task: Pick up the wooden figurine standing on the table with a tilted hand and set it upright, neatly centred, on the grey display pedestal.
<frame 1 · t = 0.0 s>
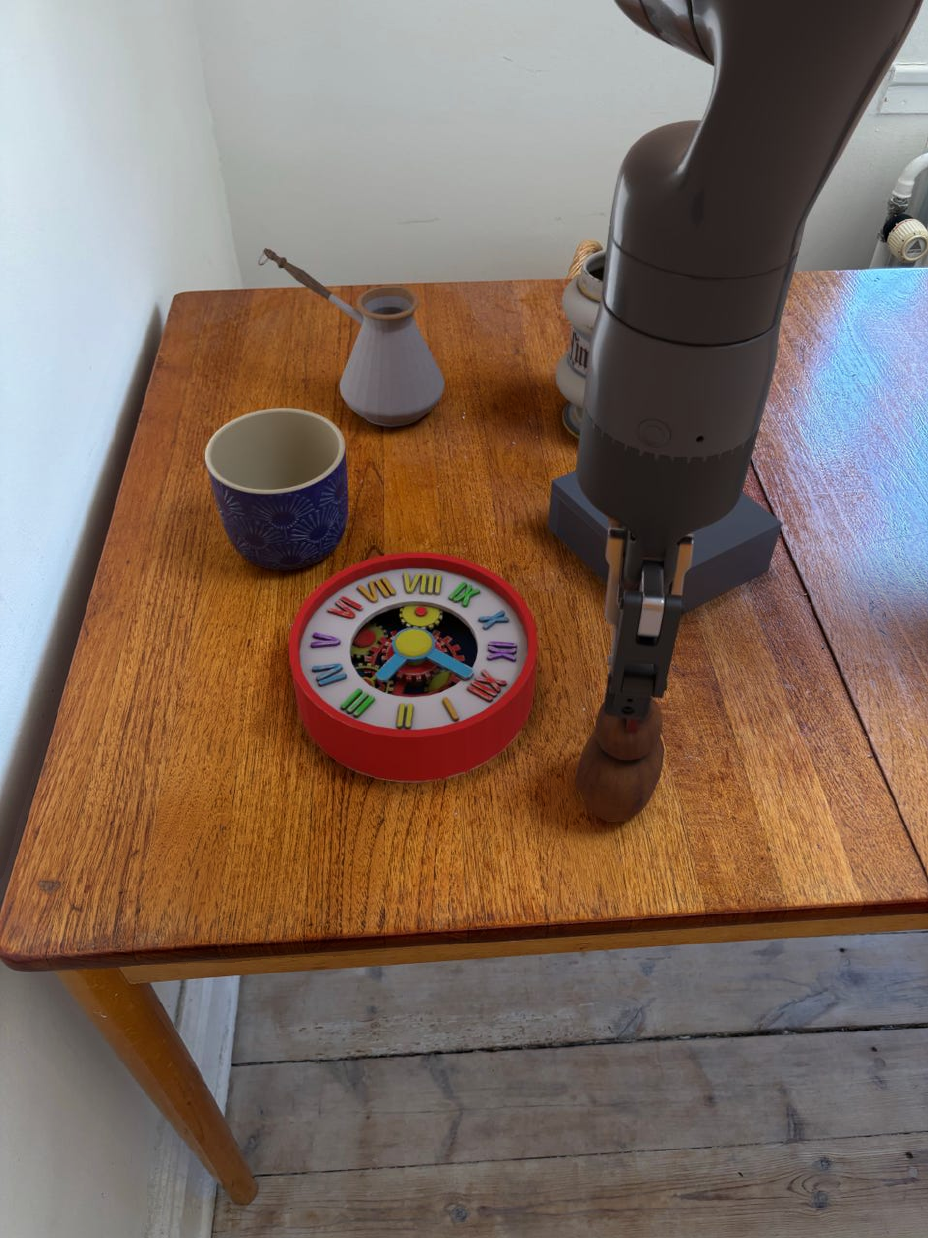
hand: (626, 650, 54), 25 cm above the table, tool pointing down, fingers open, 8 cm apart
wooden figurine: (613, 799, 78), on the table
grey display pedestal: (655, 549, 97), on the table
planter: (290, 540, 98), on the table
toy clock: (415, 684, 85), on the table
apothecary jar: (606, 421, 111), on the table
coffee pot: (356, 395, 114), on the table
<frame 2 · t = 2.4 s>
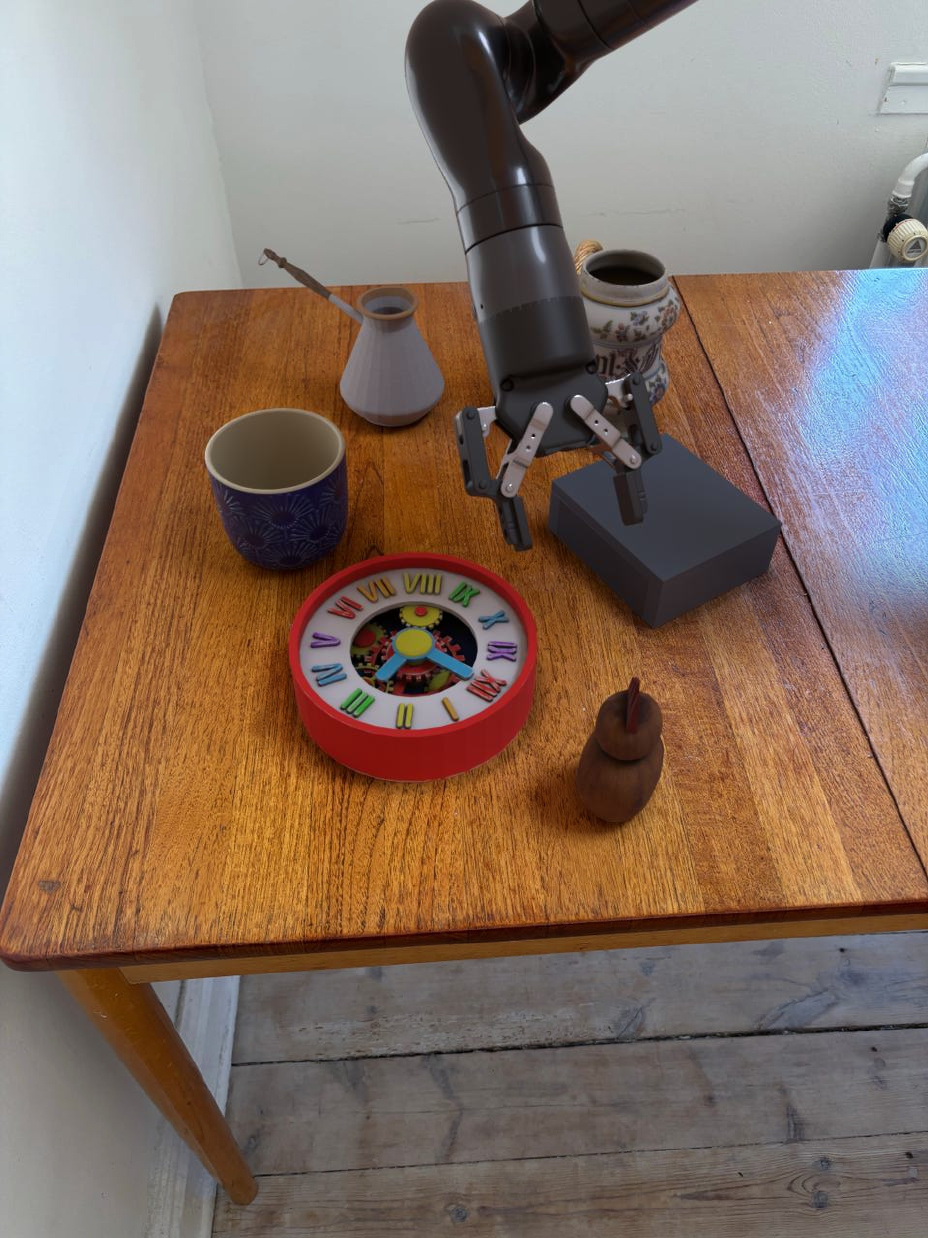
hand: (580, 537, 71), 18 cm above the table, tool tilted 45°, fingers open, 8 cm apart
nothing on the table moved.
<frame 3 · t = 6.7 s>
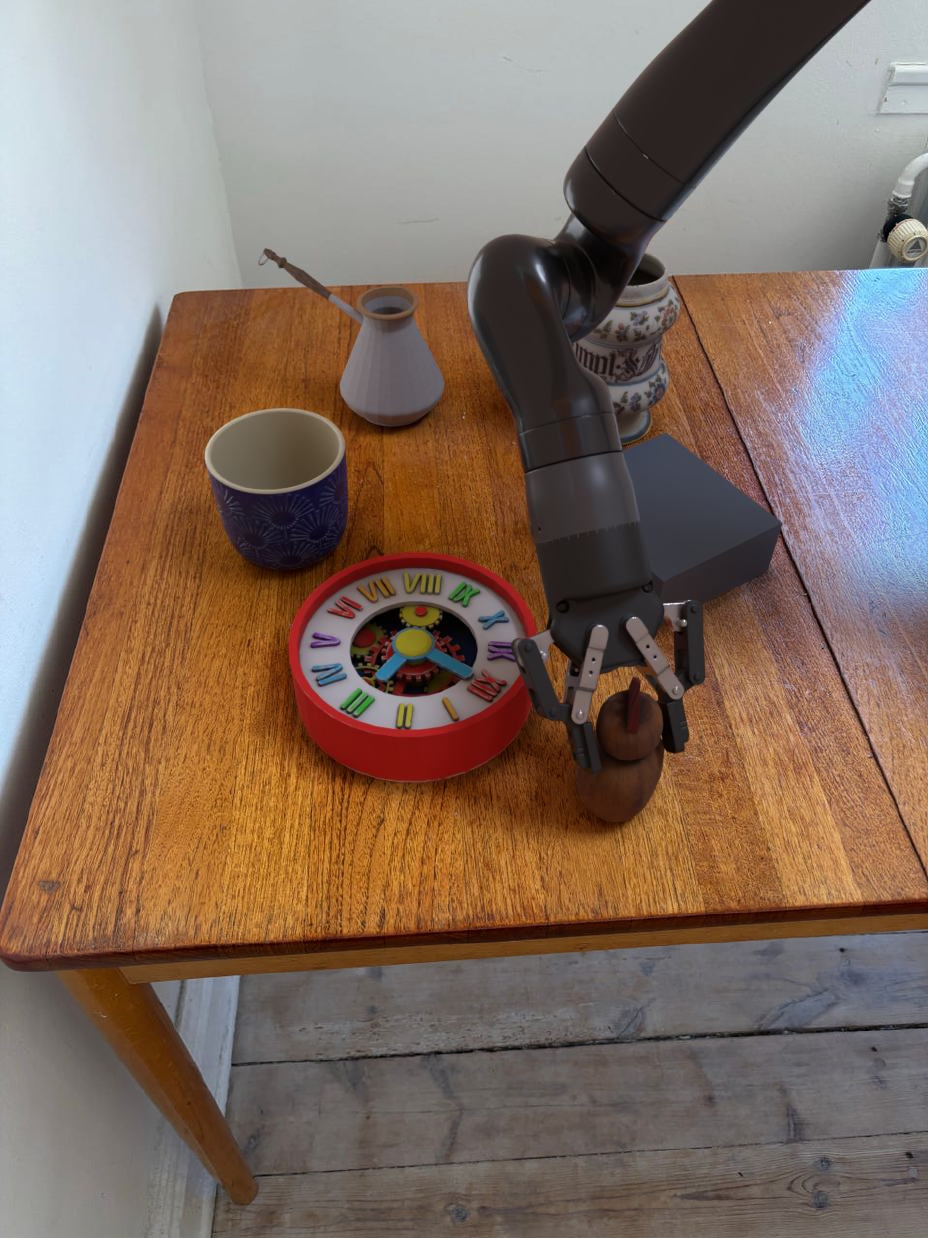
hand: (634, 761, 71), 7 cm above the table, tool tilted 45°, fingers closed on wooden figurine, 5 cm apart
wooden figurine: (613, 799, 78), on the table, touching gripper
everything else where it was.
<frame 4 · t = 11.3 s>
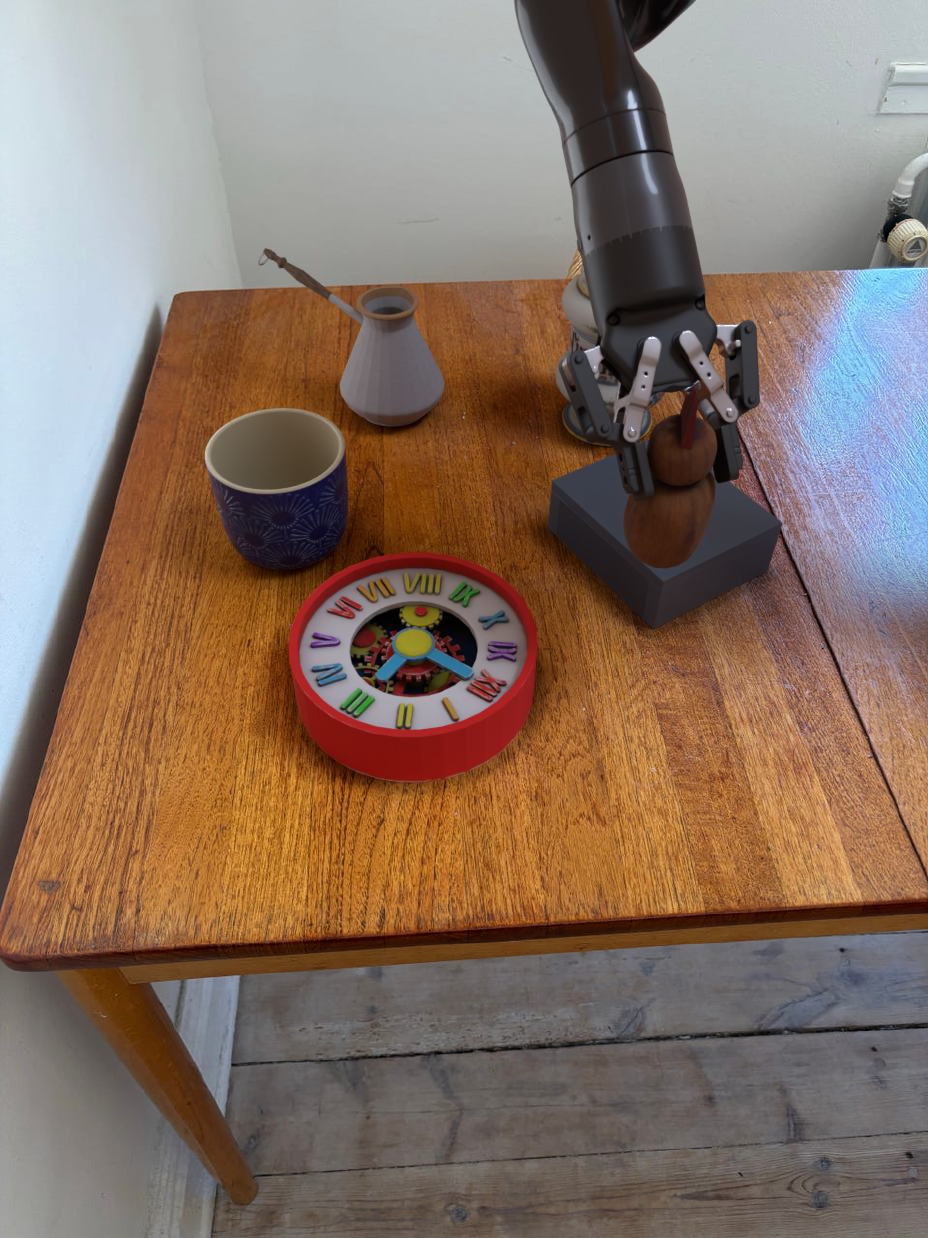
hand: (686, 489, 69), 22 cm above the table, tool tilted 45°, fingers closed on wooden figurine, 5 cm apart
wooden figurine: (660, 552, 75), point 15 cm above the table, touching gripper
everything else where it was.
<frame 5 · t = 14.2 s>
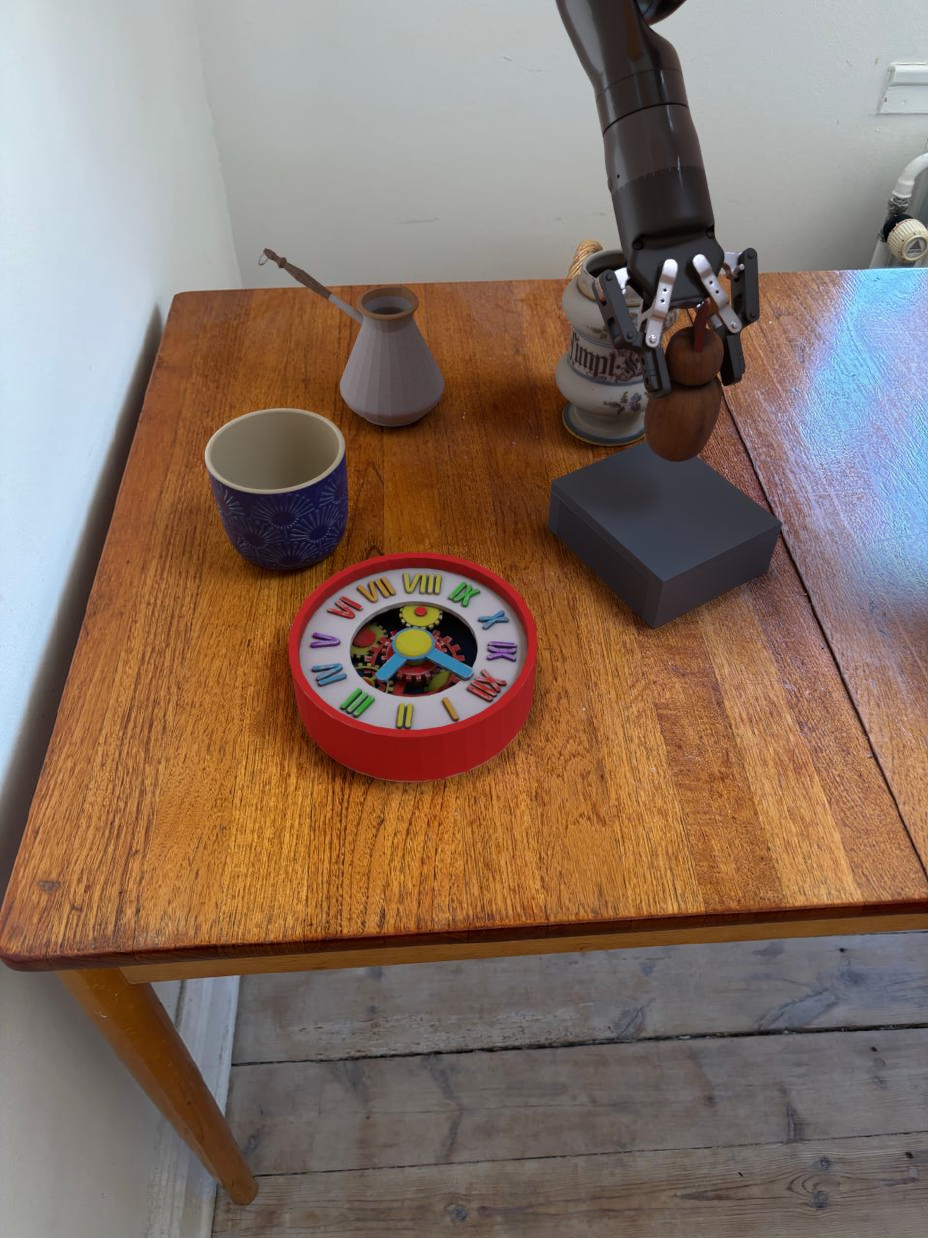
hand: (698, 389, 82), 19 cm above the table, tool tilted 45°, fingers closed on wooden figurine, 5 cm apart
wooden figurine: (674, 450, 88), point 12 cm above the table, touching gripper
everything else where it was.
when the fingers open (13 cm above the table, at t = 16.3 s): wooden figurine stays where it is, resting on grey display pedestal.
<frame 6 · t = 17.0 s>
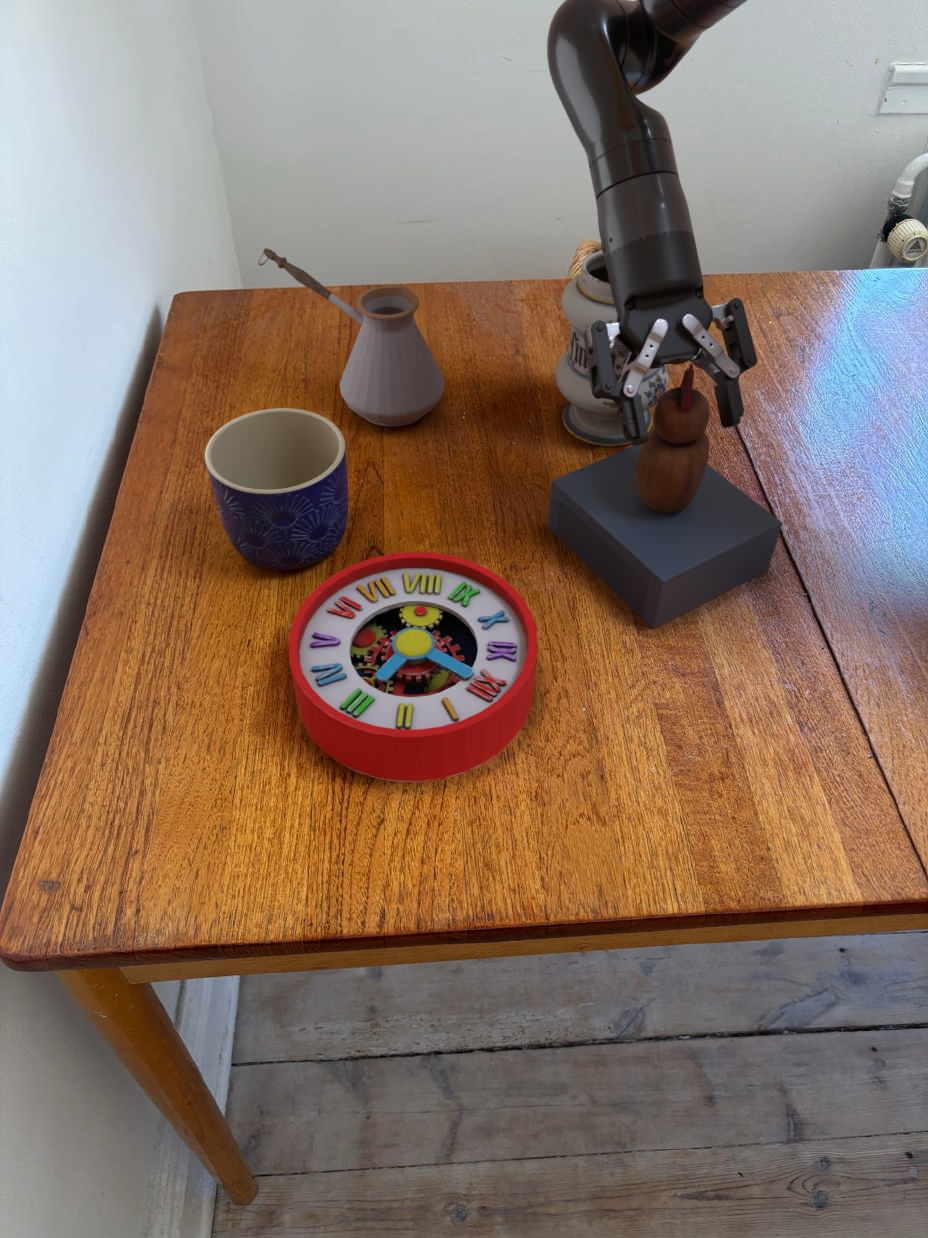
hand: (686, 434, 85), 14 cm above the table, tool tilted 45°, fingers open, 8 cm apart
wooden figurine: (664, 501, 93), point 6 cm above the table, touching grey display pedestal
everything else where it was.
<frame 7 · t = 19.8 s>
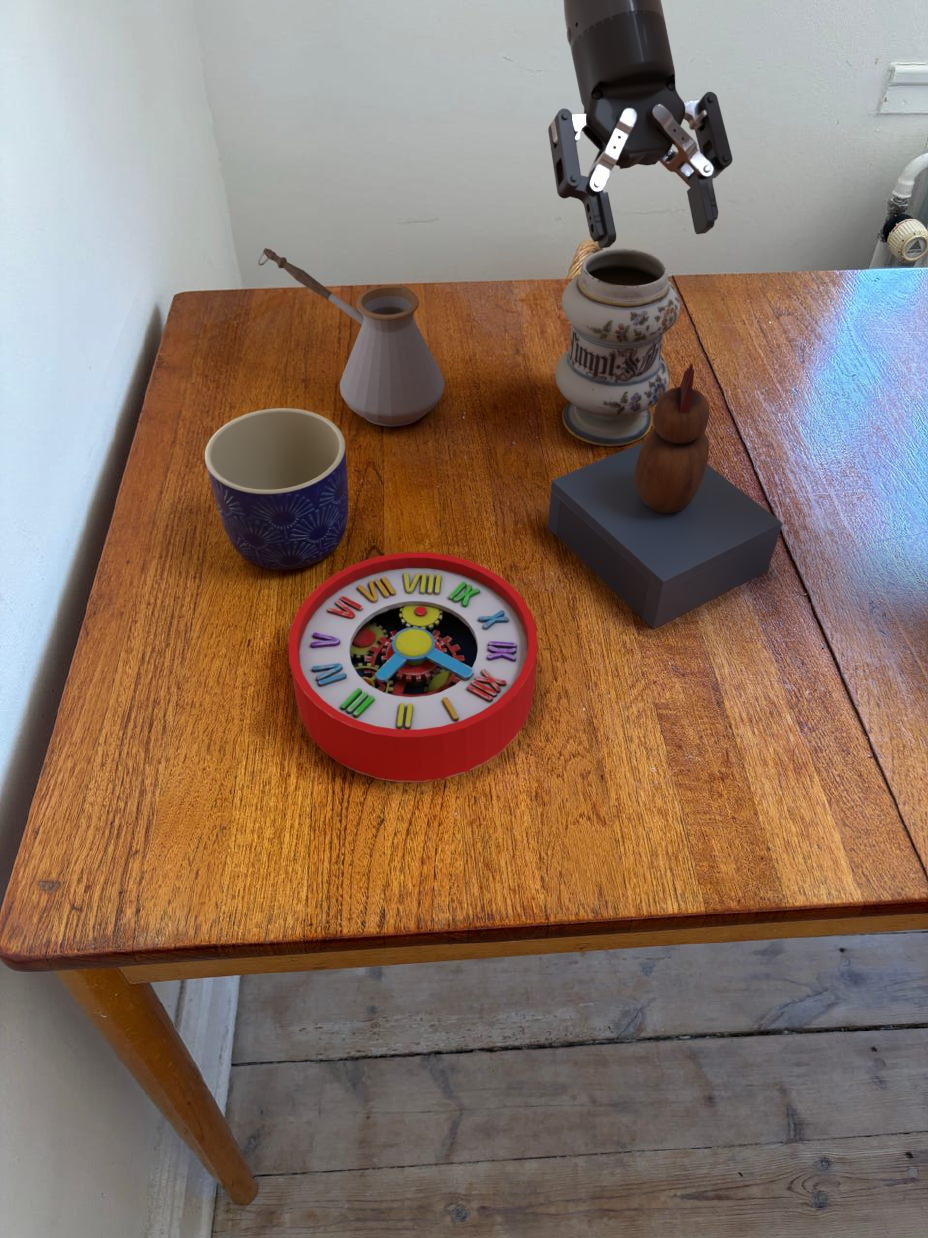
hand: (657, 237, 81), 28 cm above the table, tool tilted 45°, fingers open, 8 cm apart
nothing on the table moved.
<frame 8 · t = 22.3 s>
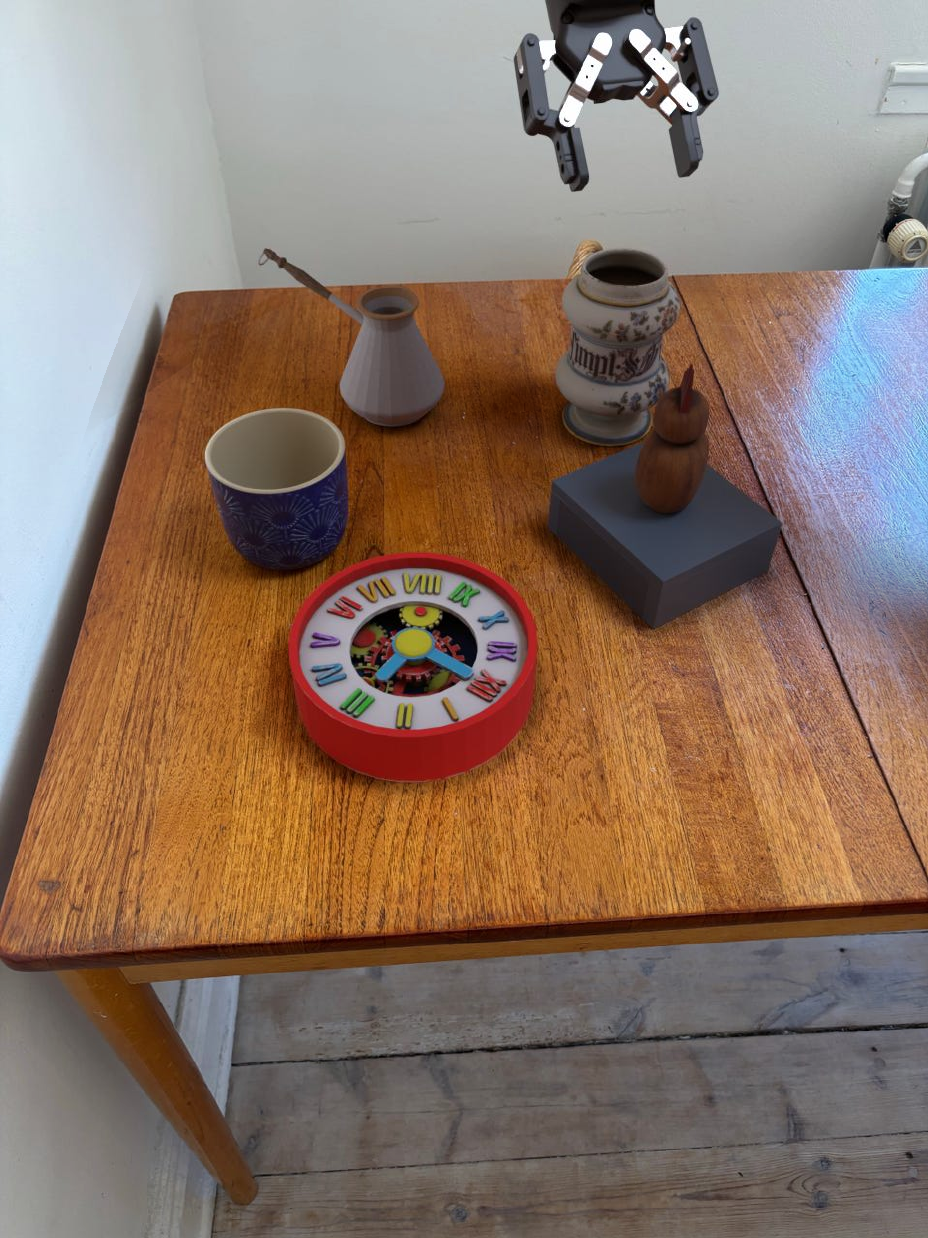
hand: (635, 179, 73), 35 cm above the table, tool tilted 45°, fingers open, 8 cm apart
nothing on the table moved.
at the end: wooden figurine inside the target area on the grey display pedestal (0.1 cm from its centre), point 5.8 cm above the grey display pedestal's base; wooden figurine tilted 0°; the gripper is holding nothing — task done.
